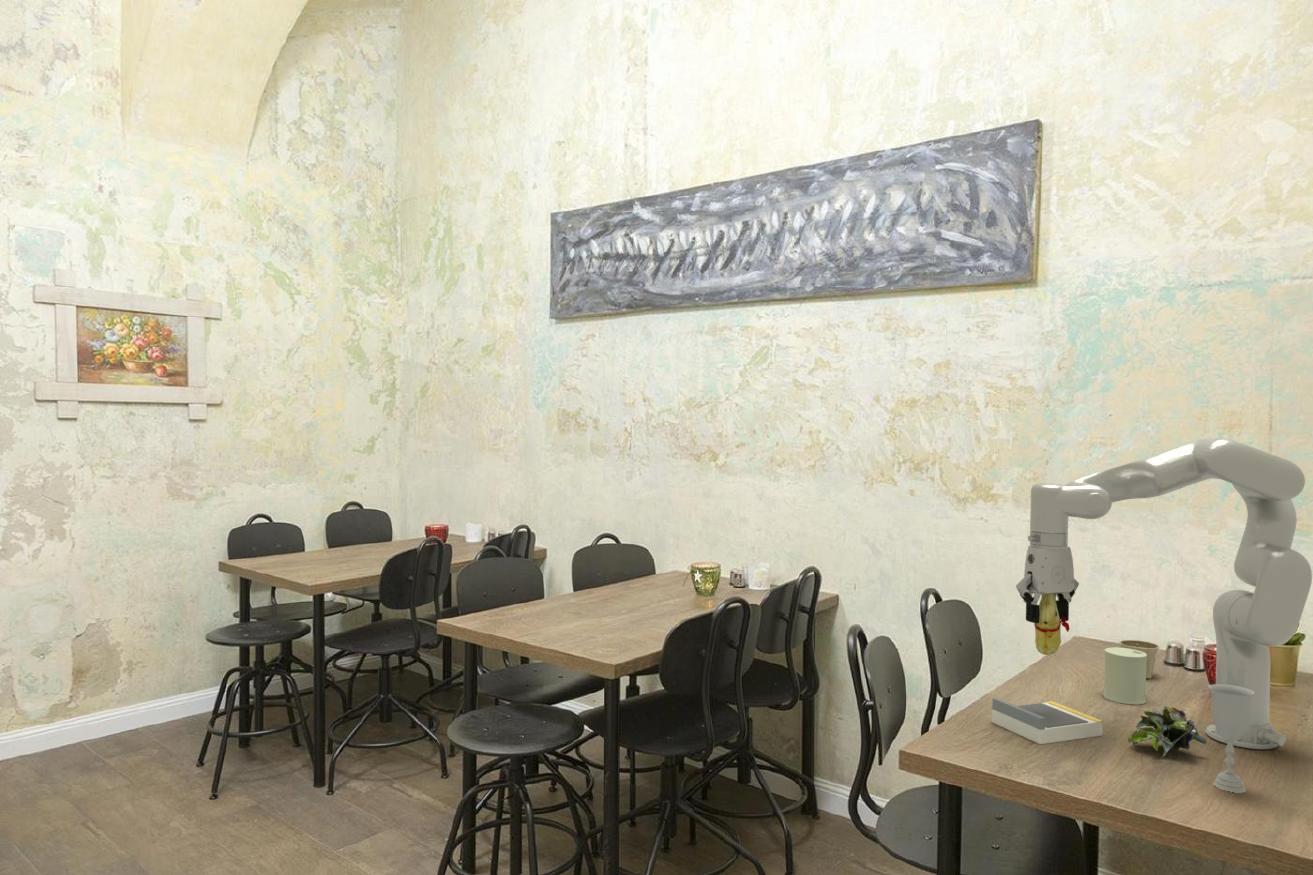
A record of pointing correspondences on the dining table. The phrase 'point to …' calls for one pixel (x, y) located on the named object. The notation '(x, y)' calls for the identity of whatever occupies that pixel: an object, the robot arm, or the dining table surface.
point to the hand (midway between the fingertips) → (1047, 620)
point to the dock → (1045, 721)
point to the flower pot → (1146, 648)
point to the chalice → (1230, 727)
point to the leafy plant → (1166, 729)
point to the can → (1125, 676)
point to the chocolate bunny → (1049, 625)
